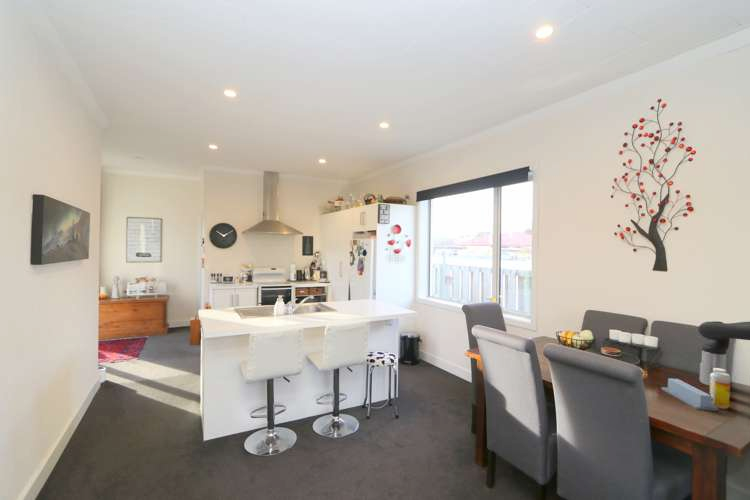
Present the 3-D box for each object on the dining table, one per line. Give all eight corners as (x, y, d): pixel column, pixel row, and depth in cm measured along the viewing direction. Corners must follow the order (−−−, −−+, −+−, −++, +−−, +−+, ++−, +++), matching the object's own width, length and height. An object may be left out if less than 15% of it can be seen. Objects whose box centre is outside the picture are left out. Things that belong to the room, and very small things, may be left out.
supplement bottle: (723, 393, 176) (724, 368, 176) (731, 399, 170) (732, 372, 170) (706, 391, 179) (707, 366, 178) (713, 397, 172) (715, 370, 172)
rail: (661, 389, 181) (661, 377, 180) (680, 390, 180) (681, 378, 180) (696, 409, 159) (697, 395, 159) (718, 410, 158) (719, 397, 158)
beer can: (732, 410, 159) (734, 376, 159) (716, 408, 160) (718, 375, 160) (722, 404, 165) (723, 371, 164) (707, 402, 166) (708, 370, 166)
